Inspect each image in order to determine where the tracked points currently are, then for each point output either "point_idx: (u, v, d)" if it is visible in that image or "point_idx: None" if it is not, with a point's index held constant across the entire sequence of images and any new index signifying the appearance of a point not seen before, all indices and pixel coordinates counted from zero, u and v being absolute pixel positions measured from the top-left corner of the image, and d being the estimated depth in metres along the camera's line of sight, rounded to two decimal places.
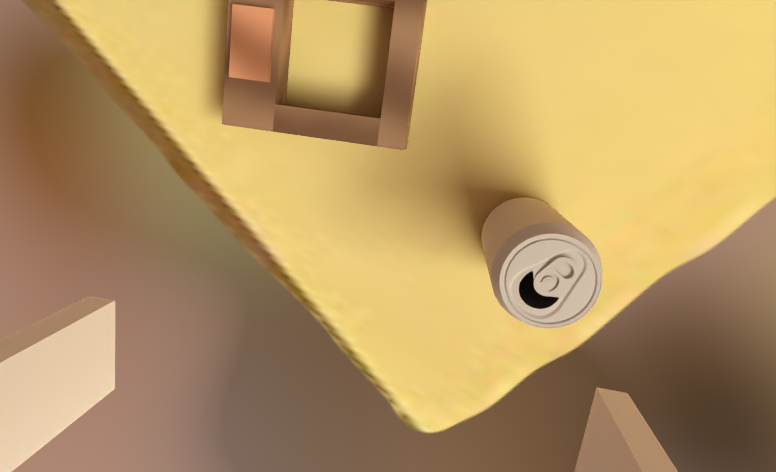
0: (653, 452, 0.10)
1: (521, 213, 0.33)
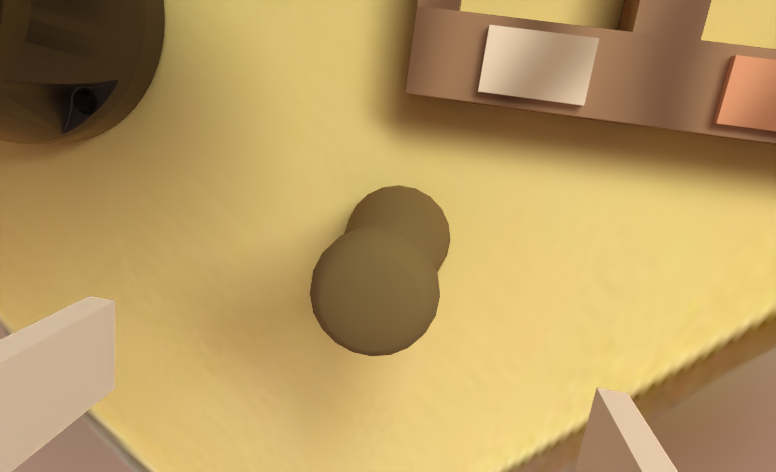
0: (653, 452, 0.10)
1: None
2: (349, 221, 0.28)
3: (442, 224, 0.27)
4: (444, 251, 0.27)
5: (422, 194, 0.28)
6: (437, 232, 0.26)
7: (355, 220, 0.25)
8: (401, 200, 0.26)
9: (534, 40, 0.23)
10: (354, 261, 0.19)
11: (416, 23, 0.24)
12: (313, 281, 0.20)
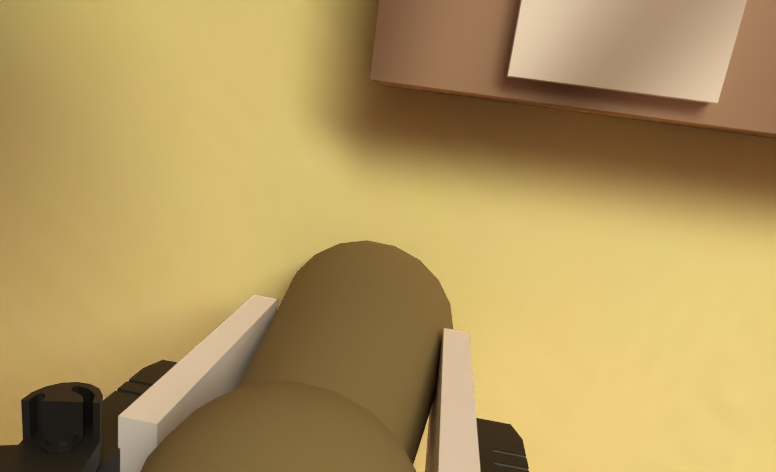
0: (461, 369, 0.13)
1: None
2: None
3: (439, 312, 0.16)
4: None
5: (406, 257, 0.17)
6: (430, 337, 0.14)
7: (278, 317, 0.14)
8: (364, 276, 0.14)
9: None
10: None
11: None
12: None
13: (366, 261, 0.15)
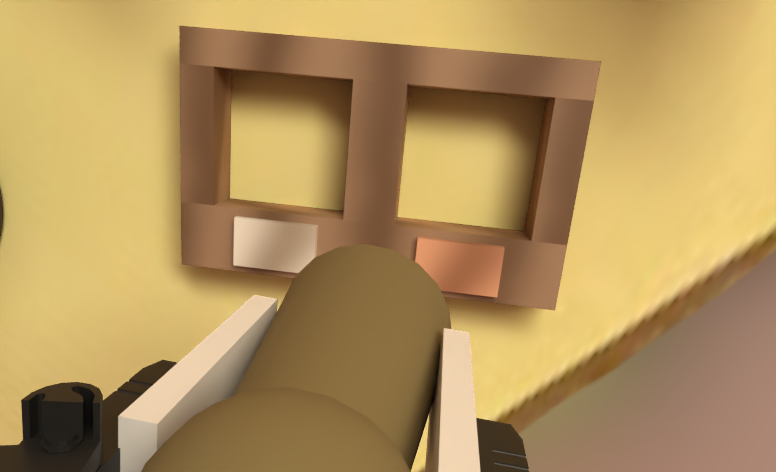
0: (461, 369, 0.13)
1: None
2: None
3: (438, 316, 0.16)
4: None
5: (404, 260, 0.17)
6: (428, 341, 0.14)
7: (276, 321, 0.14)
8: (363, 281, 0.14)
9: (269, 228, 0.30)
10: None
11: (182, 214, 0.31)
12: None
13: (365, 265, 0.15)
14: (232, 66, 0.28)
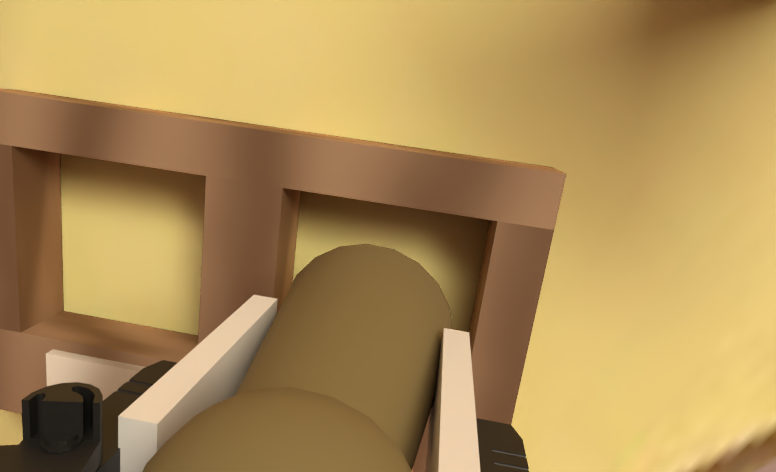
0: (461, 369, 0.13)
1: None
2: None
3: (439, 316, 0.16)
4: None
5: (405, 260, 0.17)
6: (429, 341, 0.14)
7: (277, 321, 0.14)
8: (364, 280, 0.14)
9: (93, 372, 0.21)
10: None
11: None
12: None
13: (365, 265, 0.15)
14: (37, 147, 0.20)
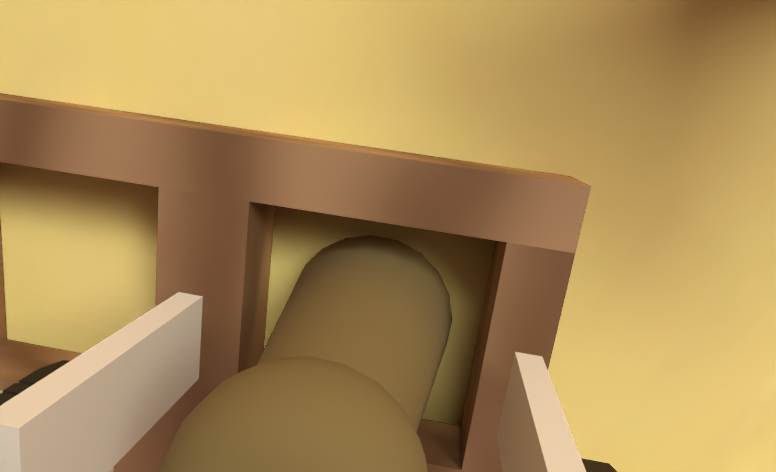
0: (548, 401, 0.12)
1: None
2: (291, 293, 0.18)
3: (439, 301, 0.17)
4: (442, 348, 0.16)
5: (407, 250, 0.18)
6: (430, 323, 0.15)
7: (290, 305, 0.15)
8: (369, 268, 0.16)
9: None
10: (231, 468, 0.08)
11: None
12: None
13: (370, 254, 0.17)
14: None
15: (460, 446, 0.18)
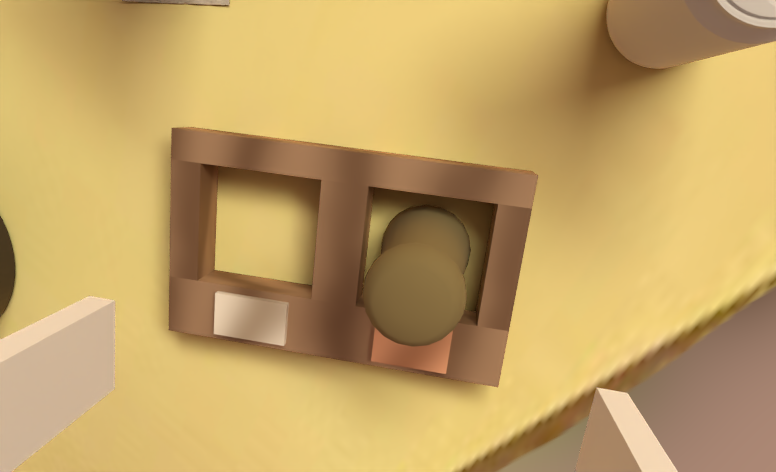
0: (653, 452, 0.10)
1: (645, 9, 0.23)
2: (384, 236, 0.33)
3: (464, 237, 0.32)
4: (466, 260, 0.32)
5: (446, 212, 0.33)
6: (460, 244, 0.31)
7: (392, 236, 0.30)
8: (429, 218, 0.31)
9: (245, 304, 0.34)
10: (399, 271, 0.24)
11: (170, 287, 0.35)
12: (366, 287, 0.25)
13: (428, 212, 0.32)
14: (216, 164, 0.32)
15: (476, 318, 0.34)
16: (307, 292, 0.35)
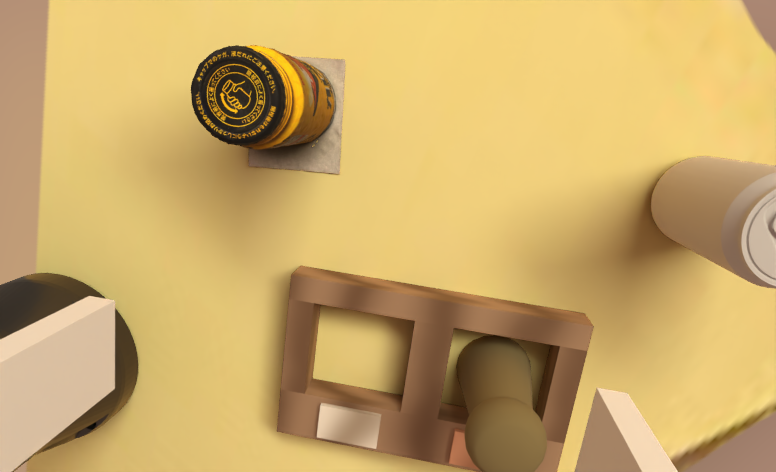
0: (653, 452, 0.10)
1: (689, 232, 0.31)
2: (462, 361, 0.40)
3: (528, 366, 0.40)
4: None
5: (513, 342, 0.40)
6: (529, 378, 0.38)
7: (474, 371, 0.38)
8: (503, 355, 0.38)
9: (345, 415, 0.41)
10: (500, 428, 0.31)
11: (280, 397, 0.42)
12: (470, 436, 0.32)
13: (500, 347, 0.39)
14: (327, 304, 0.39)
15: None
16: (394, 403, 0.42)
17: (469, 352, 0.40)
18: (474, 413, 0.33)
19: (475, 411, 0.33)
